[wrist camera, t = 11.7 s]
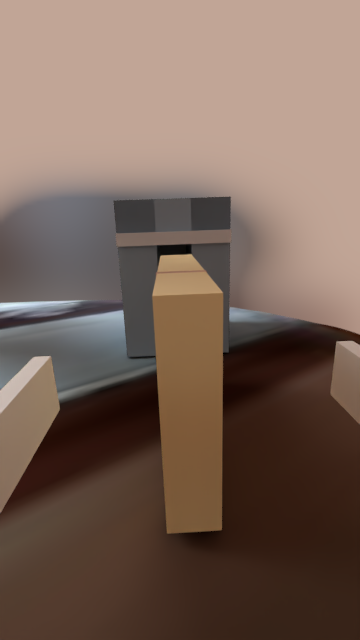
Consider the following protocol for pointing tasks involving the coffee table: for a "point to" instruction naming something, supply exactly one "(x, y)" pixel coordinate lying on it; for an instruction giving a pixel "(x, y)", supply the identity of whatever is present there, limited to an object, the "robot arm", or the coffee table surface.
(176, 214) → the dispenser
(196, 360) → the taped cardboard box
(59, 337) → the coffee table surface
